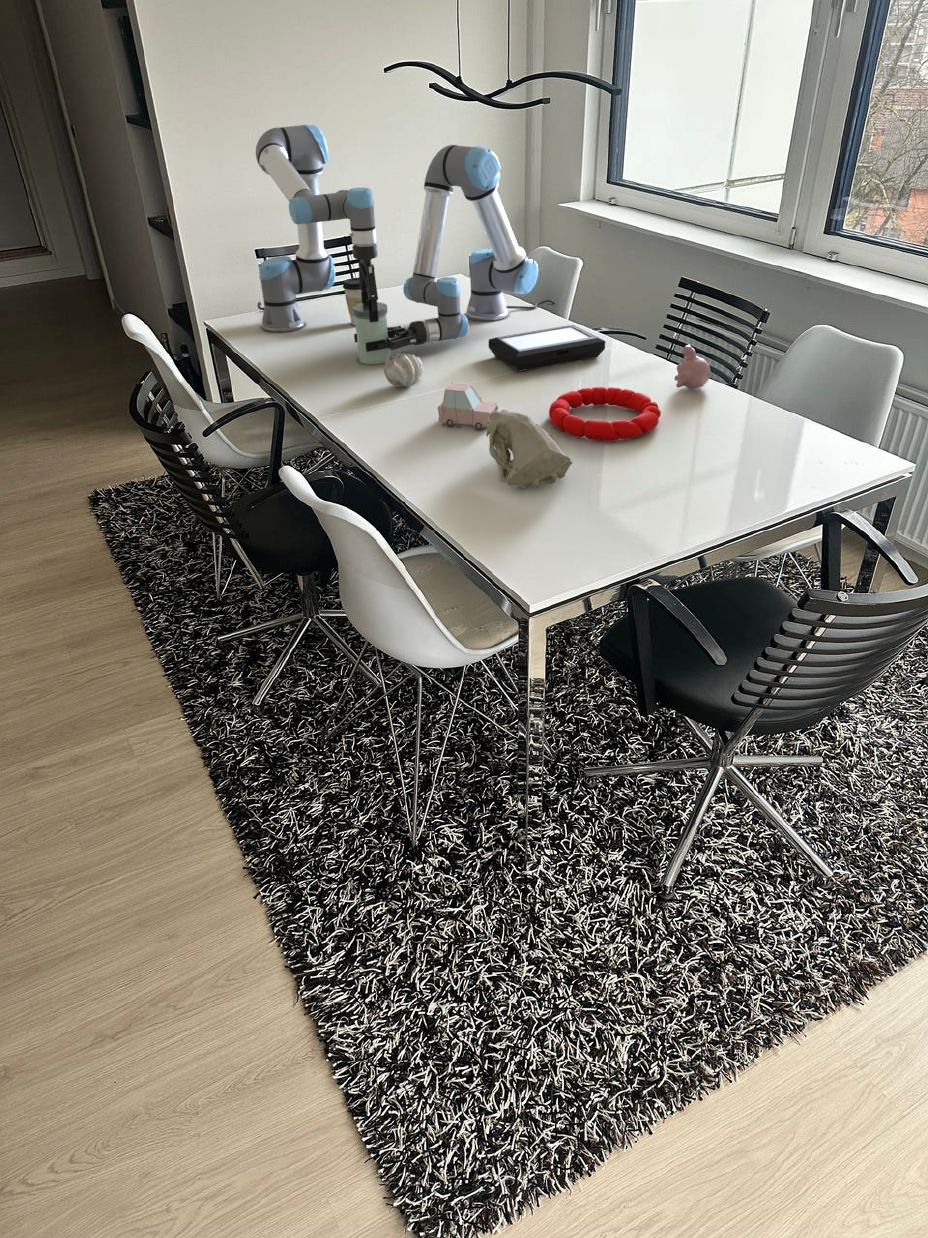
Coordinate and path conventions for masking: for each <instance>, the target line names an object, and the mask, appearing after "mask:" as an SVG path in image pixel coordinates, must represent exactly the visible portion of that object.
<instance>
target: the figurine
mask: <svg viewBox="0 0 928 1238" xmlns="http://www.w3.org/2000/svg"><path fill="white" fill-rule="evenodd" d="M682 354H683V358H684V359H683V361H682V362H679V363H678V364H677V365H676V372H677V375H675V376H674V381H675V382H676V381H677V382H676V384H675V386H676V388H681V387H686V388H688V389H693V390H694V389H695V390H696V389H700V388H703V387H704V386H705V385H706V384H707V383H708V382H709V379H710V377H711V367H710V364H709V362H708V361H706V359H704V358H702V357H700V356H697V353H696V350H695V349H694V347H692V345H690V344H686V345H685V346H684V347H683V348H682Z"/></svg>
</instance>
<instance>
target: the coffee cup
mask: <svg viewBox="0 0 928 1238" xmlns="http://www.w3.org/2000/svg"><path fill="white" fill-rule="evenodd" d="M342 288H343V290H344V297H345V301H346V305H347V310H348V314H349V318H350V323H351V325H353V326H356V322H355V315H354V314H353V306H355V305H357V304H360V303H362V296H361V289H360V286H359V277H351V278H347V279H345V280H344V281H343V285H342Z"/></svg>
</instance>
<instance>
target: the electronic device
mask: <svg viewBox="0 0 928 1238" xmlns="http://www.w3.org/2000/svg"><path fill="white" fill-rule="evenodd" d="M488 349H489V350H490V351H491V353H492V354H493V355H494V357H495V358H497V359H498V360H500V361H502V362H503V363H505V364H506V365H507V366H509V367H512V368H513V369H514V370H515V371H517V372H521V371H528V370H533V369H539V368H544V367H551V366H555V365H561V364H567V363H573V362H578V361H583V360H588V359H589V360H590V359H594V358H598V357H600V355H601V354H602V353H603V352H604V351H605V350H606V340H604V339H603V338H600V337H598V336H596V335H594V334H592V333H590V332H588V331H586V330H585V329H582V328H581V327H579V326H577V325H575V324H568V325H563V326H562V325H561V326H555V327H550V328H545V329H538V330H533V331H525V332H520V333H515V334H514V333H513V334H508V335H503V336H497V337H492V338H489V339H488Z"/></svg>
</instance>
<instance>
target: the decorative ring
mask: <svg viewBox="0 0 928 1238" xmlns="http://www.w3.org/2000/svg"><path fill="white" fill-rule="evenodd" d="M583 405H584V406H586V407H587V406H591V405H593V406H604V405H608V406H614V407H619V408H624V409H628V410H632V411H635V412H636V413H638V414H639V415H637V416H635V417H632V418H631V419H630V420H625V419H624V420H623V419H622V420H614V421H611V422H609V421H607V420H606V421H605V420H593V419H587V420H586V421H585V419H584V418H582V417H579V416H577V415H573V414H571V413H570V410H571V409H579V408H581V407H582V406H583ZM548 416H549V419H550V422H551V423H552V425H553V426H554V427H555V428H556V429H558V430H559V431H561V432H563V433H567V434H568V435H569V436H573V437H576V438H580V439H582V438H583V437H585V438H586V439H587V440H591V441H601V442H602V441H603V442H608V441H609V442H610V441H611V442H612V441H615V442H616V441H618V440H630V439H634V438H638V437H641V436H642V434H647V433H650V432H651V431H653V430H654V429H655V428H656V427H657V426H658V424H659V422H660V421H659V420H660V417H661V410H660V408H659V405H658V403H657V402H656V401H652V399H651V397H649V396H648V395H646V394H644V393H642V392H635V391H634V390H632V389H628V388H624V389H622V388H620V387H613V386H612V387H611V386H610V387H608V388H606V387H604V386H594V387H585V388H584V387H583V388H580V389H578V390H571V391H568V392H565V393H563V394H561V395H560V396H558V397H557V398H556V400H554V401H552V403H551V404H550V407H549V409H548Z"/></svg>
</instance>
